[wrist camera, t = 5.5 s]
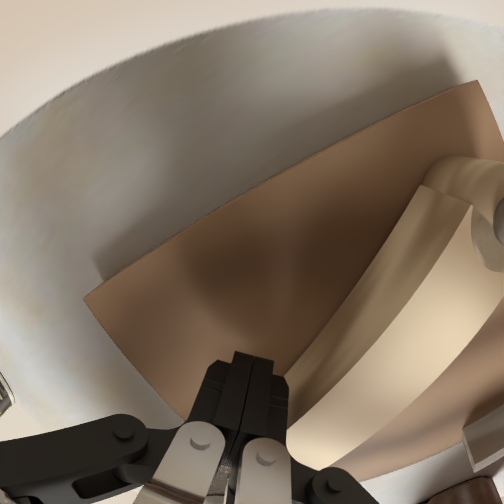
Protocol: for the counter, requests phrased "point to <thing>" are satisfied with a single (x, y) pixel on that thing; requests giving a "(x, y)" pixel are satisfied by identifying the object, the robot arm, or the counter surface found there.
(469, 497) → the plant pot
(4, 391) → the coffee can
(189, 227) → the wooden board
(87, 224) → the counter surface
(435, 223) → the maple leg
